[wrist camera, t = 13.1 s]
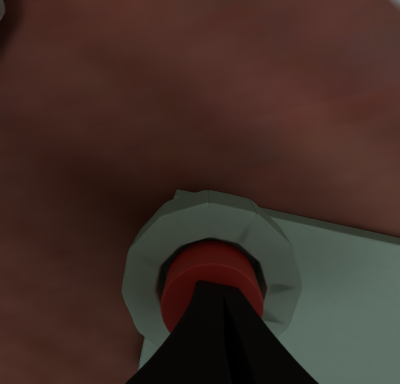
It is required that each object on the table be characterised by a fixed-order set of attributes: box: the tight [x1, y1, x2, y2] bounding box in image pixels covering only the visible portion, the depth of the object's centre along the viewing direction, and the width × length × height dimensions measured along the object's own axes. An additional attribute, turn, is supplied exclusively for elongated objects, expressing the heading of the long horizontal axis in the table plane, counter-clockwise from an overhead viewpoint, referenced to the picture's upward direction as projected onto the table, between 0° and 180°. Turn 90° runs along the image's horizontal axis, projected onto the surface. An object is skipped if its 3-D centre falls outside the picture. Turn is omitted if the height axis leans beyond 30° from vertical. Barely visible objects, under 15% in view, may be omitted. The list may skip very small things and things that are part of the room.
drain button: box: [161, 240, 264, 333], centre depth 10 cm, size 3×3×2 cm
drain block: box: [121, 189, 400, 384], centre depth 12 cm, size 13×10×3 cm
